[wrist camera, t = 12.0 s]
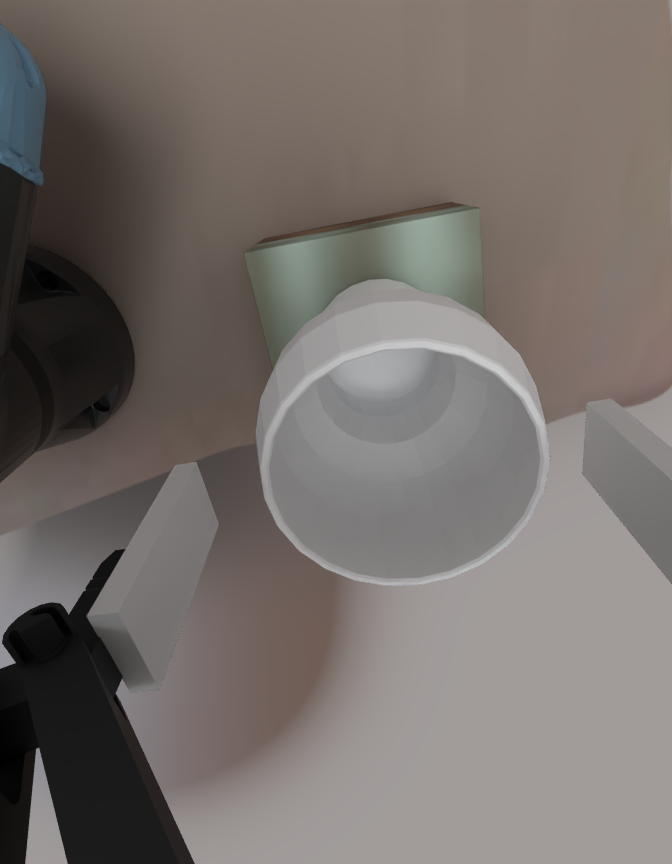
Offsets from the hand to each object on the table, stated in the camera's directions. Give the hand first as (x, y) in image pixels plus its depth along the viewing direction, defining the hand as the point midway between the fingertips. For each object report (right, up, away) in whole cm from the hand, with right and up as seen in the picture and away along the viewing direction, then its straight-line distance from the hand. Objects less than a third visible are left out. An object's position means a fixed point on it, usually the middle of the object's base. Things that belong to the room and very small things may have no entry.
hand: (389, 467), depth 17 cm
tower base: (+1, +10, +20) cm, 22 cm away
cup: (+1, +7, +13) cm, 15 cm away
